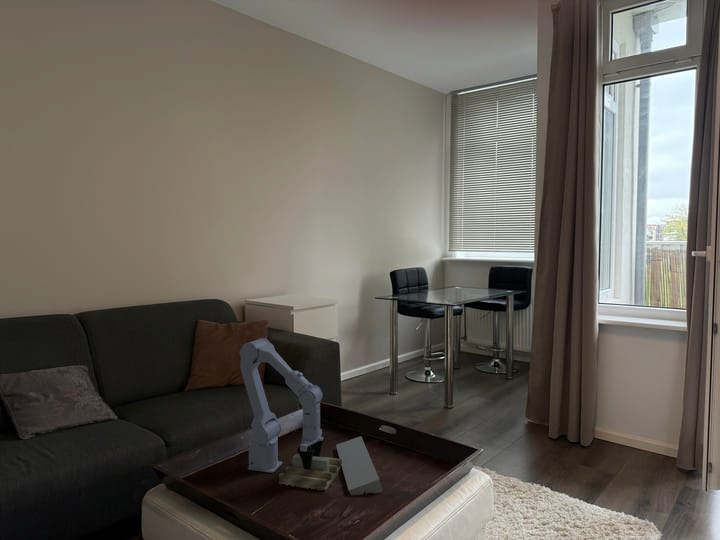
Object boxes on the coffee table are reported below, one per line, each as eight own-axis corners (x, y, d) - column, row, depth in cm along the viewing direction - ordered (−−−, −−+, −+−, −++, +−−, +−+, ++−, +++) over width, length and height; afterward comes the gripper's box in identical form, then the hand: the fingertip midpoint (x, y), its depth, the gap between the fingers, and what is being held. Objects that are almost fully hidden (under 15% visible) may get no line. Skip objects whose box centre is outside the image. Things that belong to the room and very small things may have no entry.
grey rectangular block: (352, 504, 155) (383, 493, 156) (348, 490, 154) (379, 479, 155) (339, 456, 188) (364, 447, 190) (335, 444, 188) (361, 436, 189)
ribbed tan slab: (278, 484, 161) (278, 474, 161) (299, 461, 178) (299, 453, 177) (325, 491, 157) (325, 481, 157) (342, 467, 173) (342, 458, 173)
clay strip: (293, 471, 168) (292, 457, 167) (295, 468, 170) (295, 454, 170) (326, 476, 164) (326, 461, 164) (329, 472, 167) (329, 458, 166)
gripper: (314, 433, 158) (314, 475, 159) (330, 417, 172) (330, 456, 173) (293, 430, 160) (294, 472, 161) (310, 415, 174) (311, 453, 175)
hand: (311, 463), depth 167 cm, fingers open, 7 cm apart
